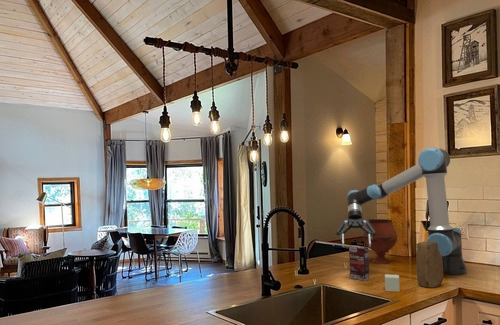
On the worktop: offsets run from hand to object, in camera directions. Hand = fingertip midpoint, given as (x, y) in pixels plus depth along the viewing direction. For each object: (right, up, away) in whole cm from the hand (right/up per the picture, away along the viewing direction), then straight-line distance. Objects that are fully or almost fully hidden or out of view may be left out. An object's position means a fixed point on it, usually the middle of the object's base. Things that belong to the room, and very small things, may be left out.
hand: (356, 245), depth 216 cm
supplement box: (-1, -15, -9) cm, 18 cm away
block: (+28, -14, -25) cm, 40 cm away
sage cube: (+8, -14, -30) cm, 34 cm away
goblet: (+22, -16, +29) cm, 40 cm away
